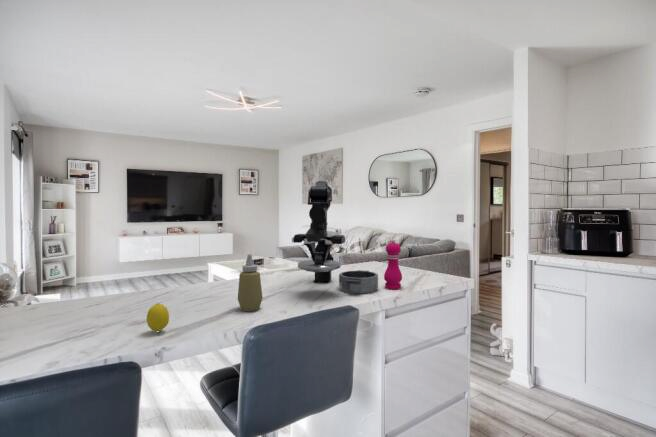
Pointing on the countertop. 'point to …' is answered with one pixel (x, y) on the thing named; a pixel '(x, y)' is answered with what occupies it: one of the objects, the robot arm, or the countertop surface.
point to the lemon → (157, 317)
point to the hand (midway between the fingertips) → (319, 261)
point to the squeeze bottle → (249, 287)
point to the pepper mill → (393, 266)
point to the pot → (358, 282)
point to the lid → (319, 264)
